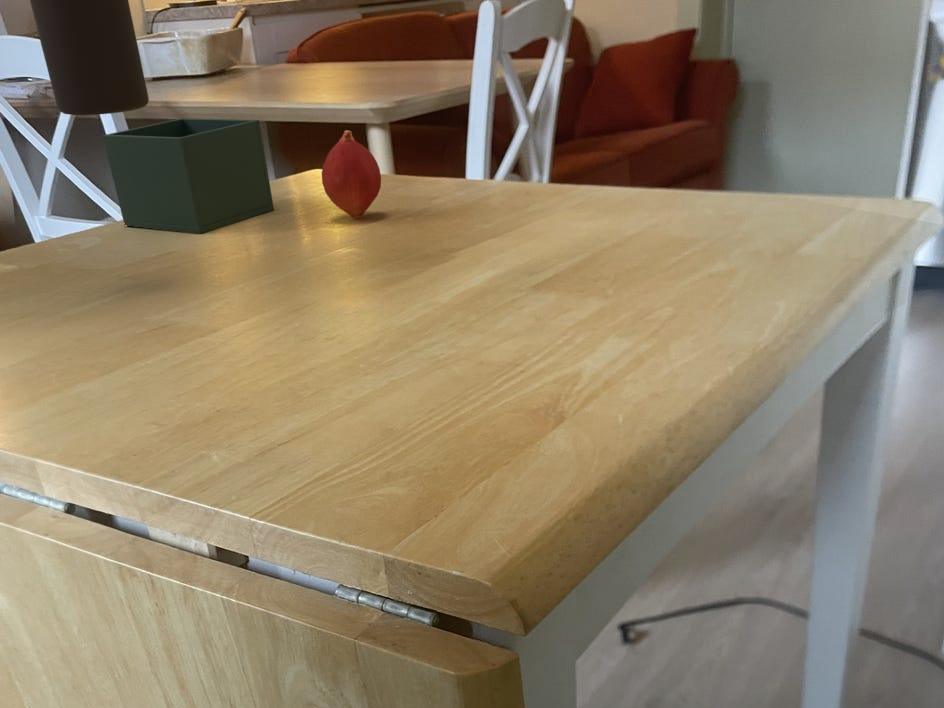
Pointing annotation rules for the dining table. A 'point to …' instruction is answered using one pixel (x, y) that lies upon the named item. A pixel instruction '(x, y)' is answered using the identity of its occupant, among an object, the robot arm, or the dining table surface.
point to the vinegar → (91, 55)
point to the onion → (351, 176)
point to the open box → (190, 173)
